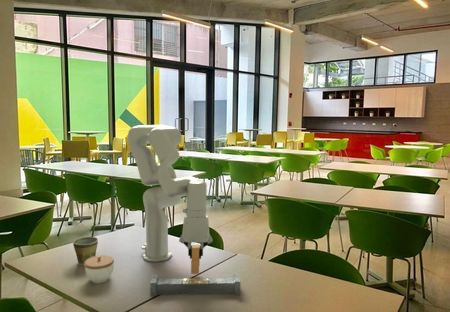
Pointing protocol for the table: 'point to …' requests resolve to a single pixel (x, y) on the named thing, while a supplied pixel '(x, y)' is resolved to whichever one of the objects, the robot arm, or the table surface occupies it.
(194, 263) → the clip
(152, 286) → the rail
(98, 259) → the lidded jar
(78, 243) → the ceramic cup
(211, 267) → the table surface
